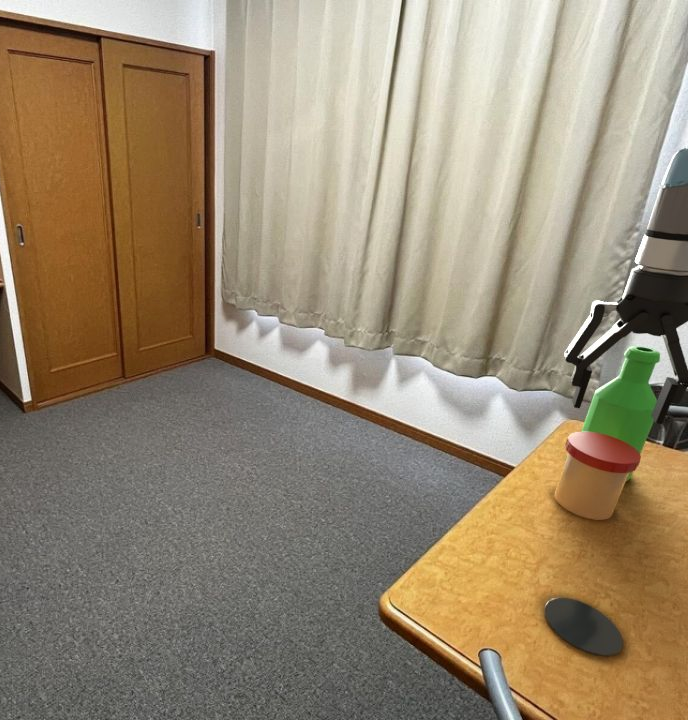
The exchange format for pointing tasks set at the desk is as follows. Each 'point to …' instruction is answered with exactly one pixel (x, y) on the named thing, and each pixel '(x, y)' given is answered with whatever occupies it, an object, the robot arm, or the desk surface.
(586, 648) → the coaster
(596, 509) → the jam jar
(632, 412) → the bottle
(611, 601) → the desk surface
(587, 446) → the lid
